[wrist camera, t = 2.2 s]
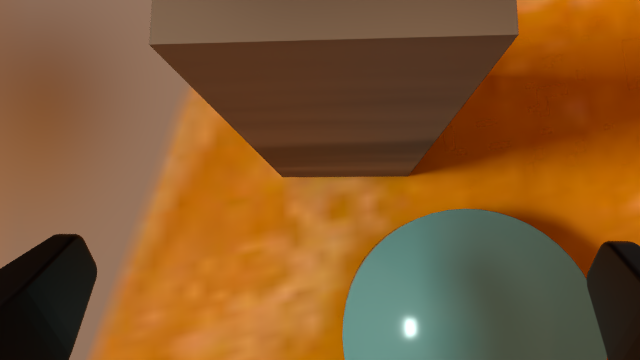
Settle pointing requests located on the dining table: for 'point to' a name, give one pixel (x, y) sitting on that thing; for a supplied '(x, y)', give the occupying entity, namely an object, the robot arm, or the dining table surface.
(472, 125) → the dining table surface
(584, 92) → the dining table surface
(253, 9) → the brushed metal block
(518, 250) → the teal base
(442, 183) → the dining table surface
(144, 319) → the dining table surface
